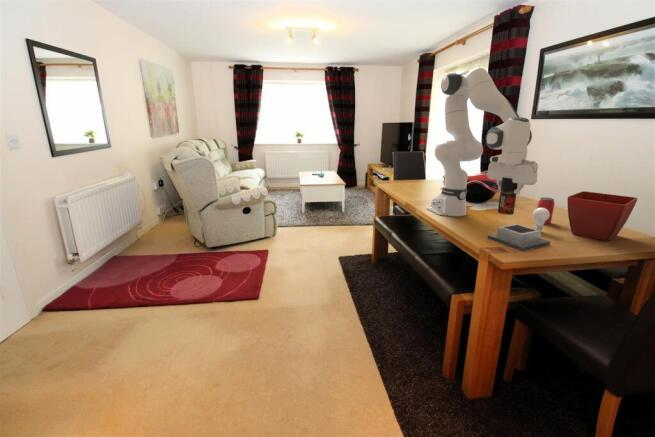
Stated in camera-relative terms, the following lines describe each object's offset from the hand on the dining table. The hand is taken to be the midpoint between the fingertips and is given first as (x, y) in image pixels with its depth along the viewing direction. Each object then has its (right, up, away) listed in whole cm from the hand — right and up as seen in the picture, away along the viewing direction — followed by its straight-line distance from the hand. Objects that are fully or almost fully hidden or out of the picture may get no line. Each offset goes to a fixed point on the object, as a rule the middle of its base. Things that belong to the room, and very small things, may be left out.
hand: (508, 192), depth 132 cm
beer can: (+31, -13, +24) cm, 41 cm away
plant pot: (+41, -18, +6) cm, 45 cm away
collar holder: (+4, -20, 0) cm, 21 cm away
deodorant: (0, -9, +2) cm, 9 cm away
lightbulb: (+20, -17, +12) cm, 29 cm away
